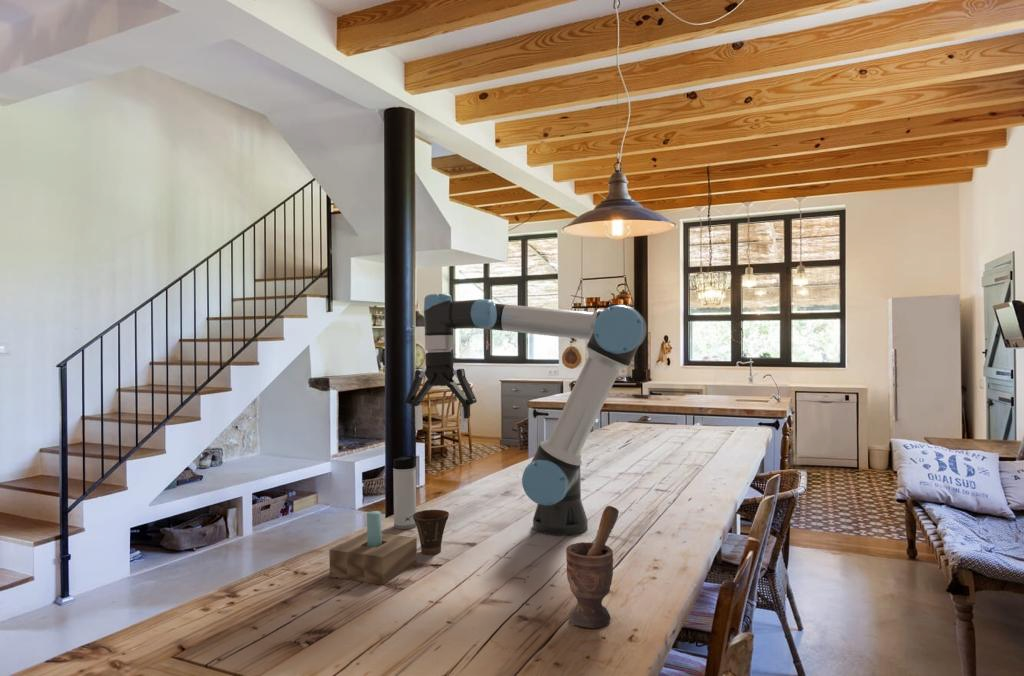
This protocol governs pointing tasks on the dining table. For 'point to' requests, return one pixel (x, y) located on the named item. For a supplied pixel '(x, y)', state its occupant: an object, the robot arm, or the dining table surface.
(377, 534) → the dowel
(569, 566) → the mortar and pestle
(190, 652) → the dining table surface
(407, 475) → the travel mug
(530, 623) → the dining table surface
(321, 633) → the dining table surface
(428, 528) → the cup
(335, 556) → the socket block
